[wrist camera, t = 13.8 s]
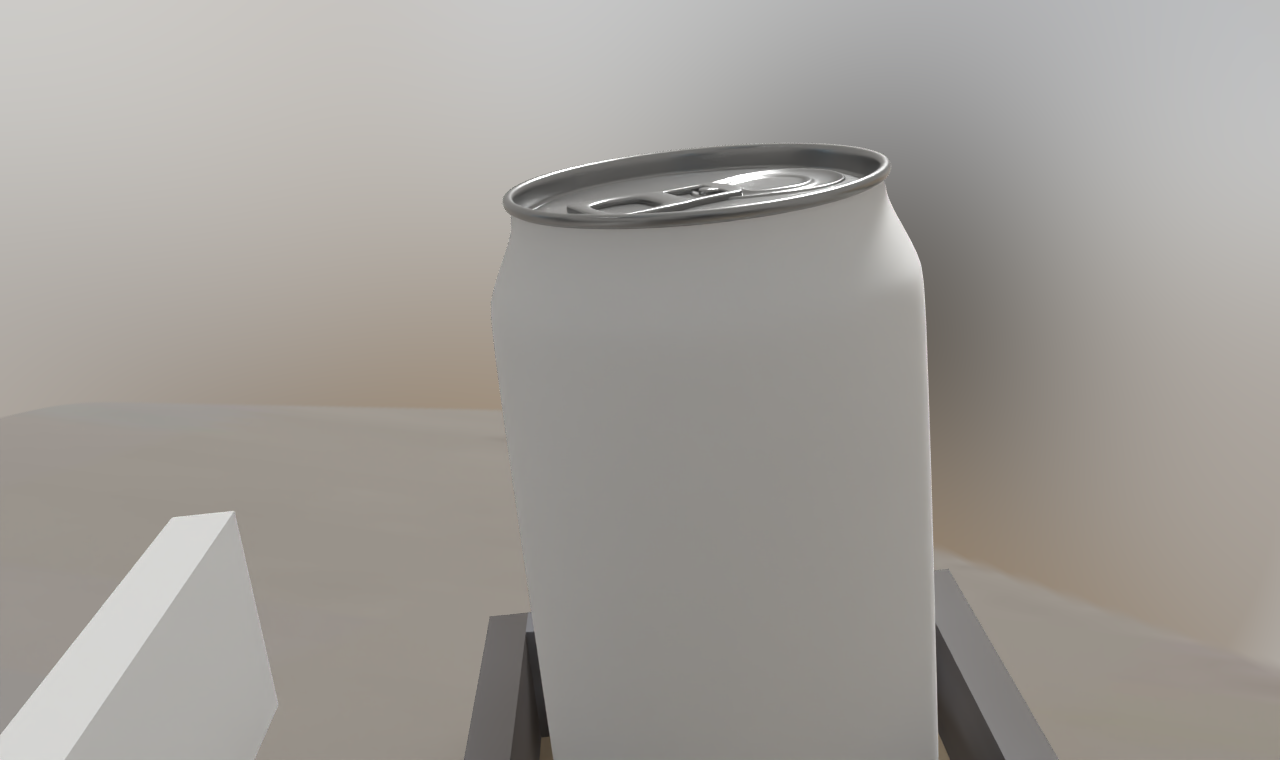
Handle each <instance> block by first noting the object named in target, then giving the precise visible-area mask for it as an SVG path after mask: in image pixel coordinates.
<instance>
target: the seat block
mask: <svg viewBox="0 0 1280 760" xmlns="http://www.w3.org/2000/svg"><path fill="white" fill-rule="evenodd" d="M934 596H935V634H936V673H937V714H938V758H939V760H1059V759H1058V757H1057V756H1056V754H1055V752H1054V751H1053V749H1052V747H1051V745H1050V744H1049V742H1048V740H1047V738H1046V737H1045V735H1044V733H1043V732H1042V730H1041V728H1040V726H1039V725H1038V723H1037V721H1036V719H1035V718H1034V716H1033V714H1032V713H1031V711H1030V709H1029V707H1028V706H1027V704H1026V702H1025V700H1024V699H1023V697H1022V695H1021V693H1020V692H1019V690H1018V688H1017V687H1016V685H1015V683H1014V681H1013V680H1012V678H1011V676H1010V674H1009V673H1008V671H1007V669H1006V668H1005V666H1004V664H1003V662H1002V661H1001V659H1000V657H999V655H998V654H997V652H996V650H995V649H994V647H993V645H992V643H991V642H990V640H989V638H988V636H987V635H986V633H985V631H984V630H983V628H982V626H981V624H980V623H979V621H978V619H977V617H976V616H975V614H974V612H973V610H972V609H971V607H970V605H969V604H968V602H967V600H966V598H965V597H964V595H963V593H962V591H961V590H960V588H959V586H958V585H957V583H956V581H955V579H954V578H953V576H952V574H951V572H950V571H949V569H945V570H935V571H934ZM464 760H553V754H552V747H551V741H550V734H549V727H548V721H547V714H546V707H545V700H544V694H543V687H542V680H541V673H540V666H539V660H538V653H537V646H536V639H535V632H534V626H533V619H532V612H530V613H520V614H510V615H501V616H491V617H490V619H489V625H488V630H487V636H486V641H485V647H484V652H483V658H482V663H481V669H480V674H479V680H478V685H477V691H476V696H475V702H474V707H473V713H472V718H471V724H470V730H469V735H468V741H467V746H466V752H465V757H464Z"/></svg>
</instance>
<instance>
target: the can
mask: <svg viewBox="0 0 1280 760" xmlns="http://www.w3.org/2000/svg"><path fill="white" fill-rule="evenodd" d="M890 171H891V163H890V161H889V159H888V158H887V157H886V156H884V155H883V154H881V153H878V152H876V151H872V150H869V149H864V148H859V147H853V146H845V145H834V144H816V143H766V144H765V143H763V144H740V145H725V146H712V147H699V148H689V149H679V150H670V151H662V152H655V153H647V154H640V155H633V156H627V157H621V158H615V159H609V160H603V161H598V162H593V163H588V164H583V165H579V166H574V167H570V168H566V169H562V170H558V171H555V172H551V173H548V174H545V175H541V176H539V177H535V178H533V179H530V180H528V181H525V182H523V183H521V184H519V185H517V186H515V187H513V188H512V189H510V190H509V191H508V192H507V193H506V194H505V196H504V198H503V206H504V208H505V210H506V211H507V212H508V213H509V214H510V215H511V234H510V238H509V242H508V246H507V249H506V252H505V255H504V259H503V261H502V264H501V267H500V270H499V273H498V277H497V280H496V284H495V287H494V290H493V295H492V301H491V320H492V331H493V340H494V349H495V358H496V365H497V371H498V372H497V373H498V380H499V387H500V394H501V401H502V409H503V417H504V424H505V431H506V438H507V445H508V452H509V459H510V466H511V473H512V480H513V487H514V494H515V501H516V508H517V515H518V522H519V529H520V536H521V543H522V550H523V557H524V564H525V570H526V577H527V584H528V591H529V598H530V605H531V612H532V619H533V626H534V632H535V639H536V646H537V653H538V660H539V666H540V673H541V680H542V687H543V694H544V700H545V707H546V714H547V721H548V727H549V734H550V741H551V747H552V754H553V760H939V758H938V714H937V673H936V634H935V596H934V560H933V525H932V493H931V492H932V491H931V490H932V489H931V456H930V425H929V394H928V393H929V392H928V364H927V337H926V336H927V335H926V314H925V297H924V282H923V276H922V268H921V263H920V261H919V258H918V255H917V253H916V251H915V249H914V246H913V244H912V243H911V240H910V239H909V237H908V235H907V233H906V231H905V229H904V227H903V226H902V224H901V222H900V220H899V218H898V217H897V215H896V213H895V211H894V209H893V207H892V205H891V203H890V200H889V198H888V195H887V191H886V185H885V179H886V178H887V177H888V175H889V173H890Z"/></svg>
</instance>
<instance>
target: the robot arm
mask: <svg viewBox="0 0 1280 760" xmlns="http://www.w3.org/2000/svg"><path fill="white" fill-rule="evenodd" d="M277 707H278V701H277V696H276V692H275V687H274V683H273V679H272V674H271V670H270V665H269V661H268V657H267V652H266V648H265V643H264V639H263V635H262V630H261V626H260V621H259V617H258V612H257V608H256V604H255V599H254V595H253V590H252V586H251V582H250V577H249V573H248V568H247V564H246V560H245V555H244V551H243V546H242V542H241V538H240V533H239V529H238V524H237V520H236V516H235V511H228V512H219V513H210V514H200V515H191V516H182V517H172V518H171V520H170V521H169V522H168V523H167V525H166V526H165V527H164V528H163V530H162V531H161V532H160V534H159V535H158V536H157V537H156V539H155V540H154V541H153V542H152V544H151V545H150V546H149V547H148V549H147V550H146V551H145V553H144V554H143V555H142V556H141V558H140V559H139V560H138V561H137V563H136V564H135V565H134V566H133V568H132V569H131V570H130V571H129V573H128V574H127V575H126V577H125V578H124V579H123V580H122V582H121V583H120V584H119V585H118V587H117V588H116V589H115V590H114V592H113V593H112V594H111V596H110V597H109V598H108V599H107V601H106V602H105V603H104V604H103V606H102V607H101V608H100V609H99V611H98V612H97V613H96V615H95V616H94V617H93V618H92V620H91V621H90V622H89V623H88V625H87V626H86V627H85V628H84V630H83V631H82V632H81V634H80V635H79V636H78V637H77V639H76V640H75V641H74V642H73V644H72V645H71V646H70V647H69V649H68V650H67V651H66V653H65V654H64V655H63V656H62V658H61V659H60V660H59V661H58V663H57V664H56V665H55V666H54V668H53V669H52V670H51V671H50V673H49V674H48V675H47V677H46V678H45V679H44V680H43V682H42V683H41V684H40V685H39V687H38V688H37V689H36V690H35V692H34V693H33V694H32V696H31V697H30V698H29V699H28V701H27V702H26V703H25V704H24V706H23V707H22V708H21V709H20V711H19V712H18V713H17V715H16V716H15V717H14V718H13V720H12V721H11V722H10V723H9V725H8V726H7V727H6V728H5V730H4V731H3V732H2V734H1V735H0V760H254V759H255V757H256V755H257V752H258V750H259V748H260V746H261V743H262V741H263V739H264V736H265V734H266V732H267V730H268V727H269V725H270V723H271V721H272V718H273V716H274V714H275V711H276V709H277Z"/></svg>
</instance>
